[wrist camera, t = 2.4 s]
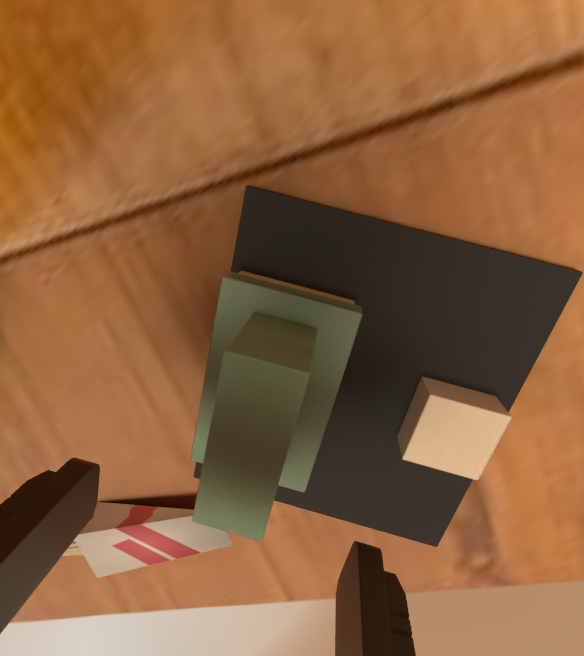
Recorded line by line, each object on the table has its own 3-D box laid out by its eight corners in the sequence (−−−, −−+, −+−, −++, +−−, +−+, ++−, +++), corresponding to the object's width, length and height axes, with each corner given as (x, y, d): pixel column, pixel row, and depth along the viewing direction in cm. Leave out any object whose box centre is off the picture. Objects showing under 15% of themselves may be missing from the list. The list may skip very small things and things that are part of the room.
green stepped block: (237, 265, 19) (179, 303, 12) (360, 297, 18) (371, 355, 12) (206, 430, 22) (148, 531, 16) (308, 459, 22) (294, 574, 15)
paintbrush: (227, 573, 23) (-17, 581, 27) (241, 534, 25) (15, 548, 30) (206, 525, 21) (-45, 543, 26) (222, 490, 24) (-9, 512, 29)
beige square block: (421, 375, 19) (430, 394, 18) (496, 395, 19) (512, 417, 17) (396, 436, 21) (401, 459, 19) (465, 455, 21) (478, 481, 19)
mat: (249, 185, 18) (246, 185, 17) (575, 269, 17) (583, 272, 17) (196, 470, 24) (193, 477, 24) (434, 539, 24) (436, 547, 23)
